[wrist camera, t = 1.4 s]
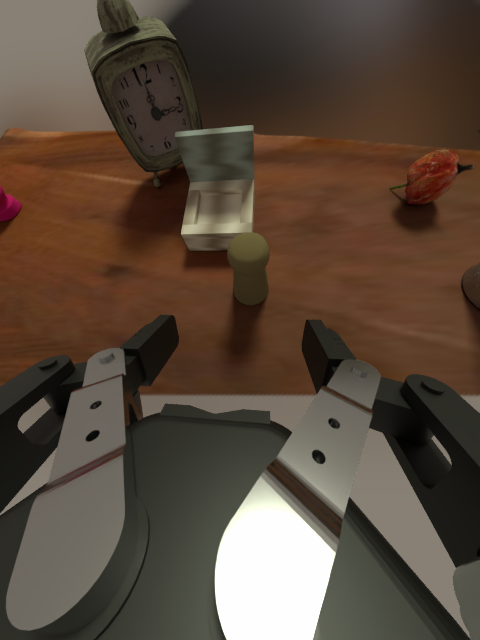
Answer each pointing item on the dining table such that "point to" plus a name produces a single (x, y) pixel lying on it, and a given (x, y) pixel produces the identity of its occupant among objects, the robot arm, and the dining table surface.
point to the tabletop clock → (143, 84)
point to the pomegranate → (432, 176)
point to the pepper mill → (8, 206)
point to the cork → (249, 267)
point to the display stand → (217, 185)
